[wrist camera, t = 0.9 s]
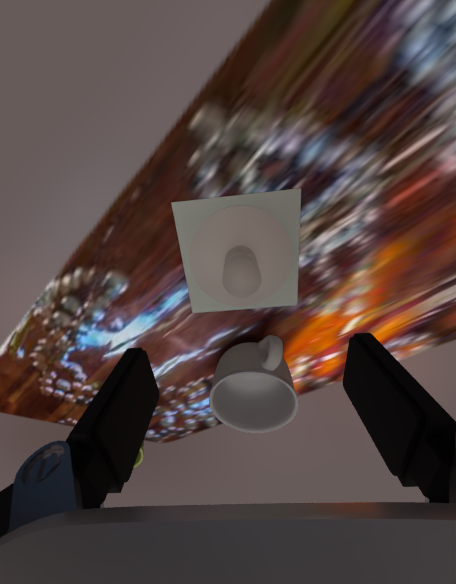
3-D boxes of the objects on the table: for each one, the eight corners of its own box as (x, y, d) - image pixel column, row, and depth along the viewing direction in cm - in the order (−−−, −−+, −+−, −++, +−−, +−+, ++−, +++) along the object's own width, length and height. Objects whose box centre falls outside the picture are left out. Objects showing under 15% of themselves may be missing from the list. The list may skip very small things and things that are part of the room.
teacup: (261, 394, 37) (268, 444, 29) (202, 370, 35) (194, 418, 27) (311, 333, 31) (335, 376, 24) (245, 302, 29) (249, 338, 22)
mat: (300, 188, 23) (301, 188, 23) (296, 303, 29) (297, 305, 29) (172, 202, 24) (171, 202, 24) (193, 311, 30) (192, 312, 30)
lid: (291, 199, 23) (312, 202, 17) (289, 298, 28) (305, 330, 22) (182, 211, 24) (163, 218, 18) (198, 306, 29) (189, 337, 23)
